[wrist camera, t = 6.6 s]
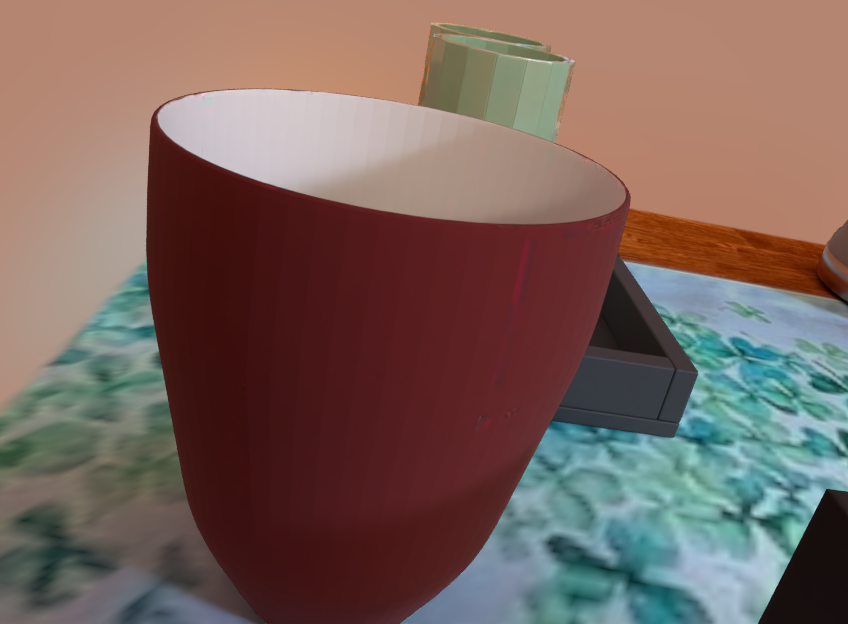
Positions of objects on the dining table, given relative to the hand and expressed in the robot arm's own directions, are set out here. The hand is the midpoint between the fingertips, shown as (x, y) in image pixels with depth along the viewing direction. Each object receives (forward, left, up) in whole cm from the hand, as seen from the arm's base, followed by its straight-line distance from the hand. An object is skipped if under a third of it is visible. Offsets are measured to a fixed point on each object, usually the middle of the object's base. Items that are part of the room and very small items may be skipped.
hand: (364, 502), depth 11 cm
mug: (0, -6, -6) cm, 8 cm away
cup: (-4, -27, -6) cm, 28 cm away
